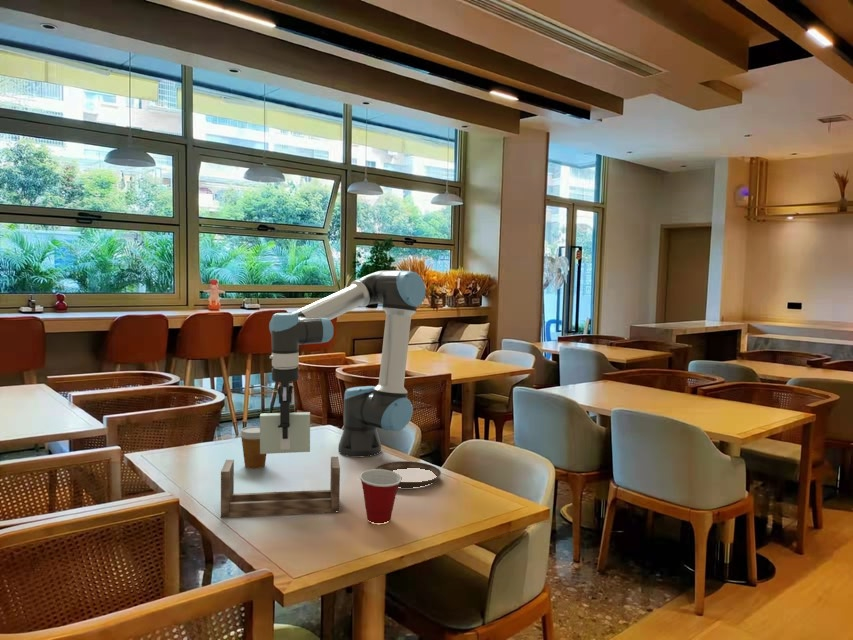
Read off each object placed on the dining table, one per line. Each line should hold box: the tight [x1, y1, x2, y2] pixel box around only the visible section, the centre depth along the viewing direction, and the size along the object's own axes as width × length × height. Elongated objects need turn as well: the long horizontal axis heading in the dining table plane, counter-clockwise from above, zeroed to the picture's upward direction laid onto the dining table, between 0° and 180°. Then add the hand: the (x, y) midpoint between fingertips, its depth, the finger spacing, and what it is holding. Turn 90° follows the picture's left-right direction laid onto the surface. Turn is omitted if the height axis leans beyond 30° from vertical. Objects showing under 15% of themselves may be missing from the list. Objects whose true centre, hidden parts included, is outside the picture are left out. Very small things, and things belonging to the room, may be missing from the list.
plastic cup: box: [359, 468, 402, 523], centre depth 156 cm, size 11×11×12 cm
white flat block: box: [259, 411, 311, 455], centre depth 176 cm, size 14×3×11 cm, turn 101°
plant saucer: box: [374, 460, 442, 488], centre depth 188 cm, size 21×21×3 cm
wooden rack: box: [220, 456, 341, 518], centre depth 163 cm, size 30×10×12 cm, turn 101°
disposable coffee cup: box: [239, 425, 267, 470], centre depth 197 cm, size 10×10×12 cm
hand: (285, 446), depth 177 cm, fingers closed on white flat block, 3 cm apart
